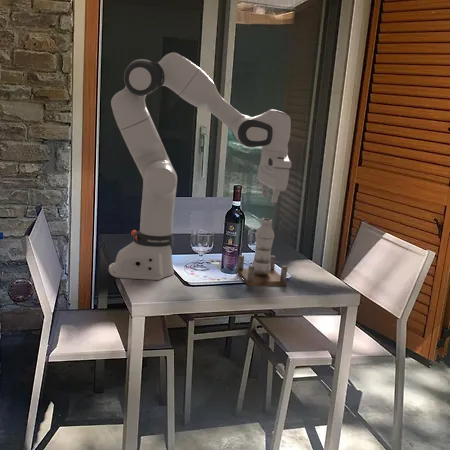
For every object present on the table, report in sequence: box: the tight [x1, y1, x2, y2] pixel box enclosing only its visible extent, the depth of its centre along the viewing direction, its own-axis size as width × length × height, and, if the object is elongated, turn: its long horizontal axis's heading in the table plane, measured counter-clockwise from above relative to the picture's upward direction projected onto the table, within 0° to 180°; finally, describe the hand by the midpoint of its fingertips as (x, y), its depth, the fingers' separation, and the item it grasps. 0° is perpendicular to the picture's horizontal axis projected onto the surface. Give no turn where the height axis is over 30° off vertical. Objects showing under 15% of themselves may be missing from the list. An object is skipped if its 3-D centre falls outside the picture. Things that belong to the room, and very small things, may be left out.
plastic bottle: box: [251, 217, 275, 275], centre depth 201 cm, size 6×7×20 cm
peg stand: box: [236, 254, 289, 287], centre depth 203 cm, size 14×14×6 cm
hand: (269, 199), depth 197 cm, fingers open, 8 cm apart
